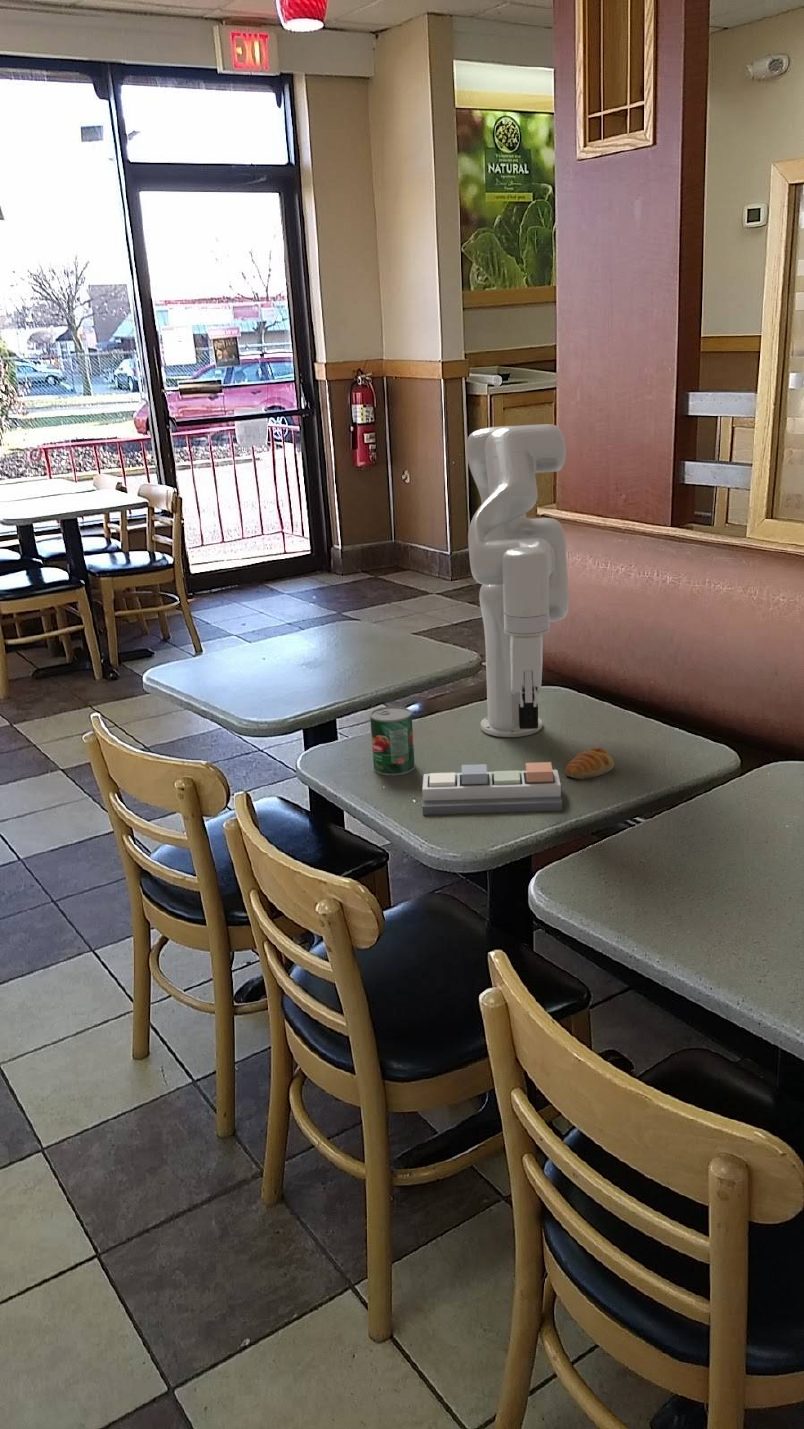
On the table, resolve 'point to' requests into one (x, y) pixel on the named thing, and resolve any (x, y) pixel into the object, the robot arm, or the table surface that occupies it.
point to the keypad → (492, 796)
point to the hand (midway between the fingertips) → (528, 726)
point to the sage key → (506, 777)
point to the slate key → (474, 774)
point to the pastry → (590, 764)
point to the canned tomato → (392, 740)
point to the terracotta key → (539, 772)
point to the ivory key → (442, 779)
